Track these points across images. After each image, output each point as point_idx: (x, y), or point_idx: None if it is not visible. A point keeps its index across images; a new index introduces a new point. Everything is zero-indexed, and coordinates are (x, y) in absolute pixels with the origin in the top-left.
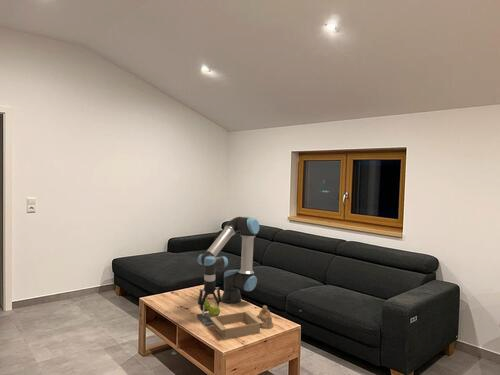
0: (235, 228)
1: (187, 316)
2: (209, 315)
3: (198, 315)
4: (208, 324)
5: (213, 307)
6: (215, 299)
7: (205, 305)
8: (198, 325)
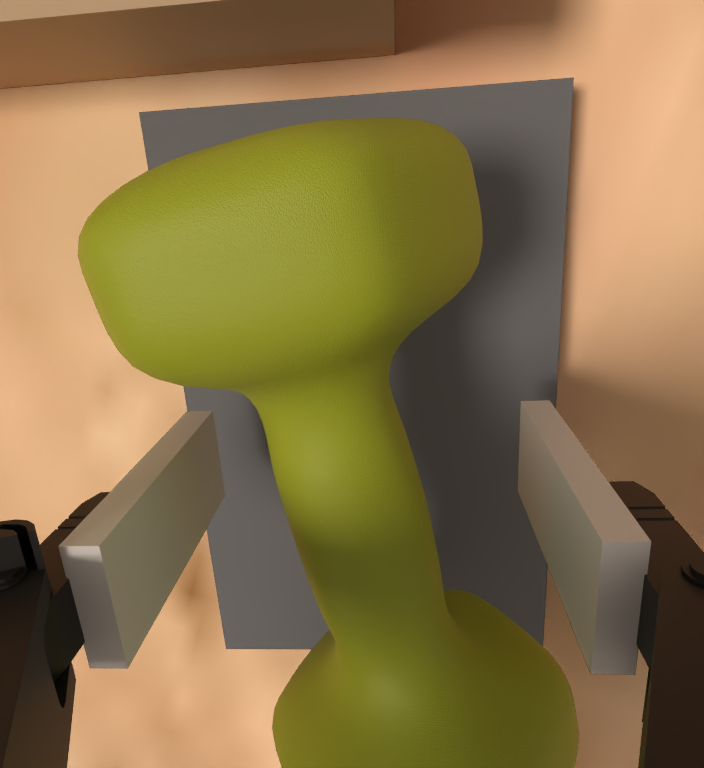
0: None
1: None
2: None
3: (537, 591)
4: (499, 86)
5: (305, 165)
6: (36, 728)
7: (442, 687)
8: (674, 212)
